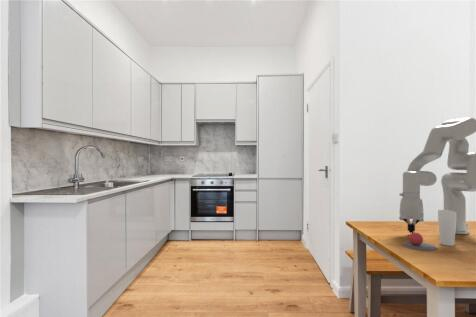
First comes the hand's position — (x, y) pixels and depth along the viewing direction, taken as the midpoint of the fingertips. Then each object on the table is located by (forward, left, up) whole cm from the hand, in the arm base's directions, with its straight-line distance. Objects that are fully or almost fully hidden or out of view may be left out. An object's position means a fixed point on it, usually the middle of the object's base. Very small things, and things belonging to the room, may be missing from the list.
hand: (411, 232), depth 150 cm
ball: (+16, +12, +1) cm, 21 cm away
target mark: (+17, +14, -2) cm, 22 cm away
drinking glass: (+3, +18, -2) cm, 18 cm away
